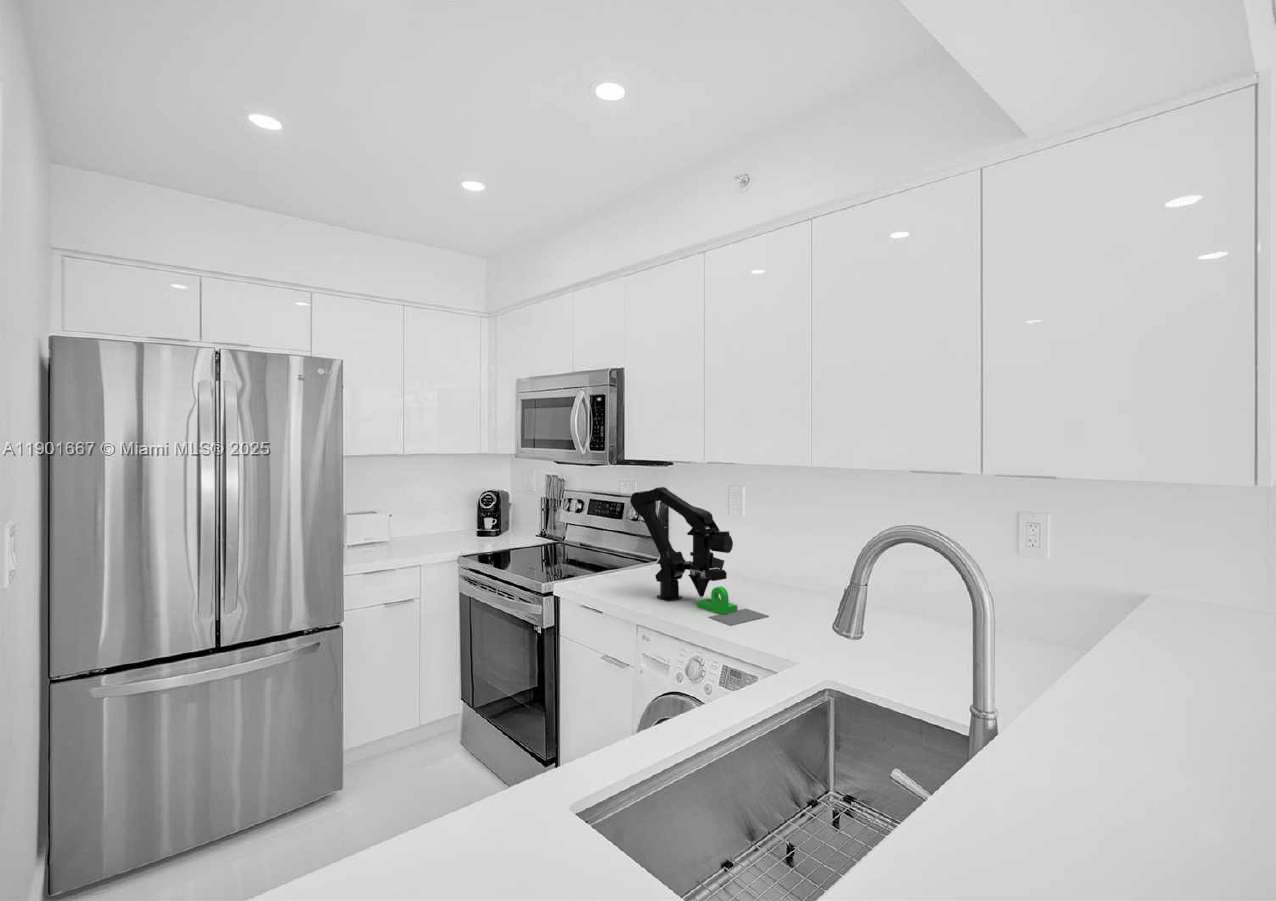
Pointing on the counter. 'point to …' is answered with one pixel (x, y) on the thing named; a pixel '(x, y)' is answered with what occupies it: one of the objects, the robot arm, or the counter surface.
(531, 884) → the counter surface
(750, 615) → the tool mat
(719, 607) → the mechanical part
